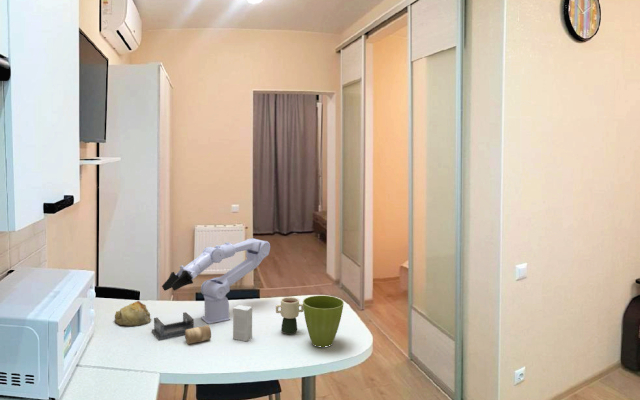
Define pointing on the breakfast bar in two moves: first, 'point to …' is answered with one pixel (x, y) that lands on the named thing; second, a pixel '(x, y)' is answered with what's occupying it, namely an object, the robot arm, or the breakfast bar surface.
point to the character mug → (289, 314)
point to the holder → (172, 328)
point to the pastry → (133, 315)
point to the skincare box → (242, 322)
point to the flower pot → (322, 318)
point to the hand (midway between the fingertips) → (168, 288)
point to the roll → (197, 334)
